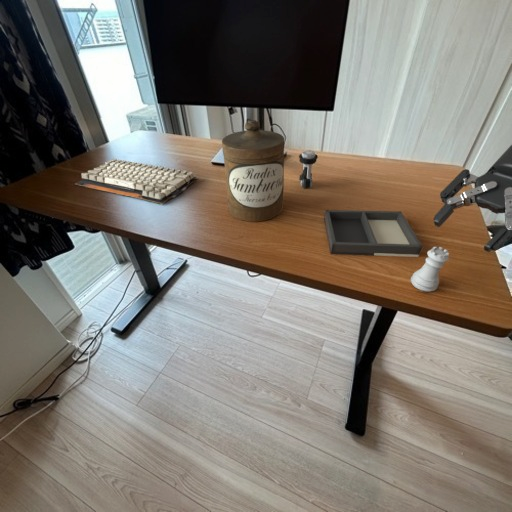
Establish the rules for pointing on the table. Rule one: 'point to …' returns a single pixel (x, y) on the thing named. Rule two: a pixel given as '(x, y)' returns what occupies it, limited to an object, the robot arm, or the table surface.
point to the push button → (307, 167)
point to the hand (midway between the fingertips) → (459, 236)
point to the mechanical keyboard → (137, 180)
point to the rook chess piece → (430, 270)
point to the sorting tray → (370, 233)
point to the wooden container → (254, 172)
